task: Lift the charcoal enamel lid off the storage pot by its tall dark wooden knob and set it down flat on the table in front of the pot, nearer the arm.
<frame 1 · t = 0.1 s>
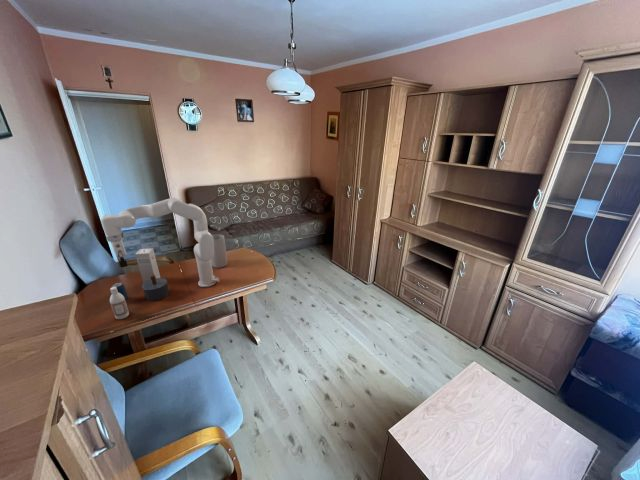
hand: (123, 263, 156), 31 cm above the table, tool pointing down, fingers open, 9 cm apart
bath foam: (122, 316, 160), on the table
tin: (157, 294, 180), on the table
soda can: (121, 300, 174), on the table
tin lid: (154, 284, 177), point 8 cm above the table, touching tin
cylinder vase: (220, 264, 221), on the table
box: (152, 281, 195), on the table
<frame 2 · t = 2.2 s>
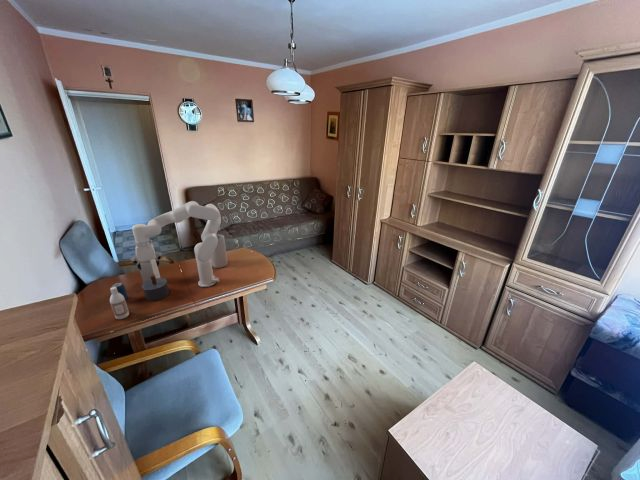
hand: (149, 267, 171), 22 cm above the table, tool pointing down, fingers open, 9 cm apart
nothing on the table moved.
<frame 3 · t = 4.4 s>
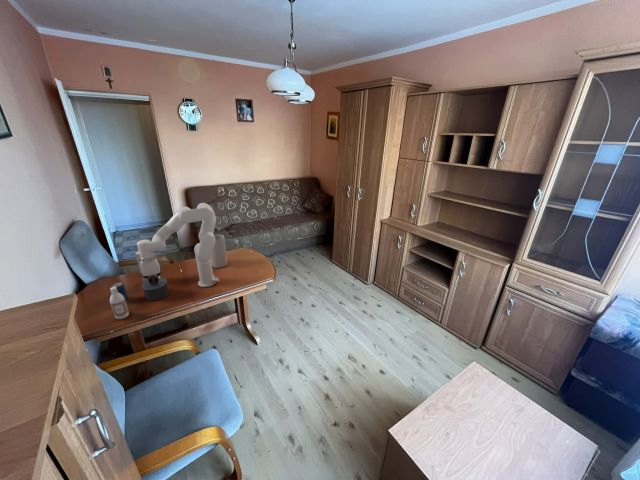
hand: (154, 282, 176), 10 cm above the table, tool pointing down, fingers closed on tin lid, 2 cm apart
tin lid: (154, 284, 177), point 9 cm above the table, touching gripper, tin
everything else where it was.
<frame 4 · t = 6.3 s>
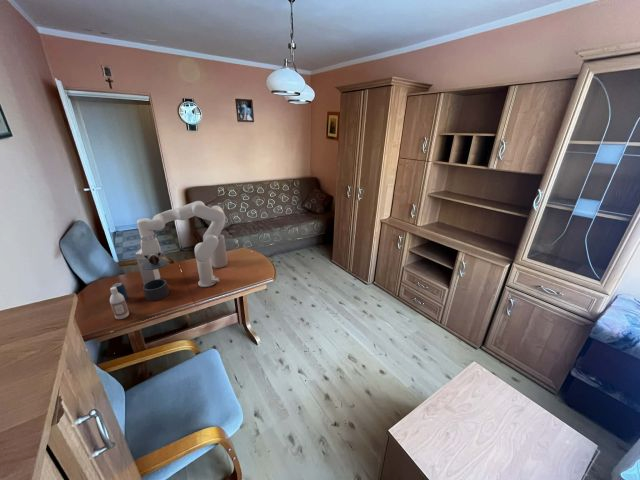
hand: (154, 262, 175), 23 cm above the table, tool pointing down, fingers closed on tin lid, 2 cm apart
tin lid: (155, 264, 175), point 22 cm above the table, touching gripper
everything else where it was.
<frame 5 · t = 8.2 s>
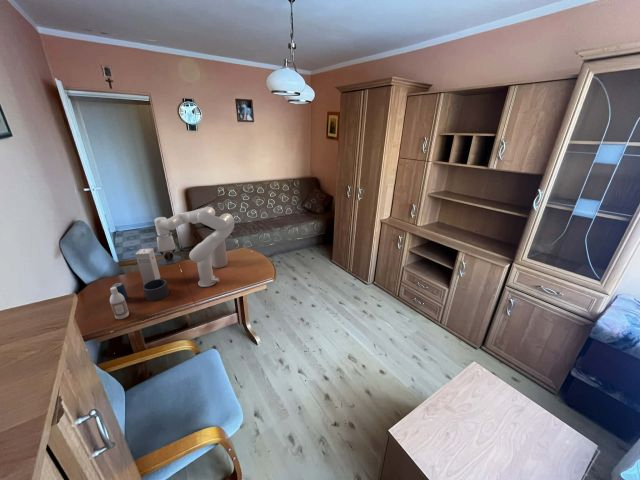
hand: (169, 258, 187), 20 cm above the table, tool pointing down, fingers closed on tin lid, 2 cm apart
tin lid: (169, 260, 188), point 18 cm above the table, touching gripper
everything else where it was.
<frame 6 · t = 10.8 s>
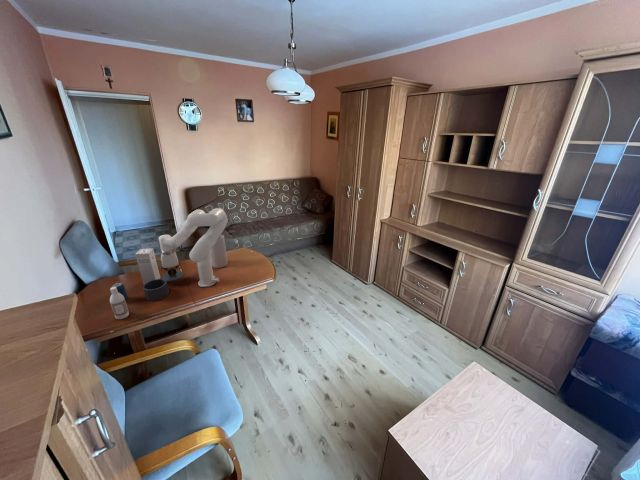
hand: (172, 274, 192), 7 cm above the table, tool pointing down, fingers closed on tin lid, 2 cm apart
tin lid: (173, 275, 193), point 6 cm above the table, touching gripper
everything else where it was.
when the fingers open (2 cm above the table, at t = 12.2 s): tin lid stays where it is, point 1 cm above the table.
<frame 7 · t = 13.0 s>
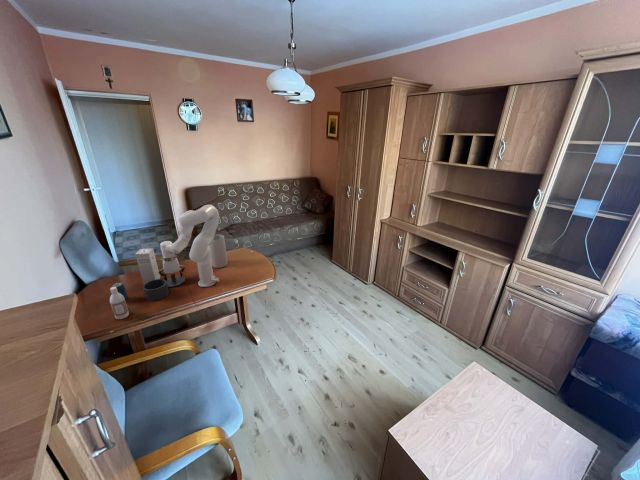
hand: (174, 278, 194), 3 cm above the table, tool pointing down, fingers open, 9 cm apart
tin lid: (174, 281, 195), point 1 cm above the table
everything else where it was.
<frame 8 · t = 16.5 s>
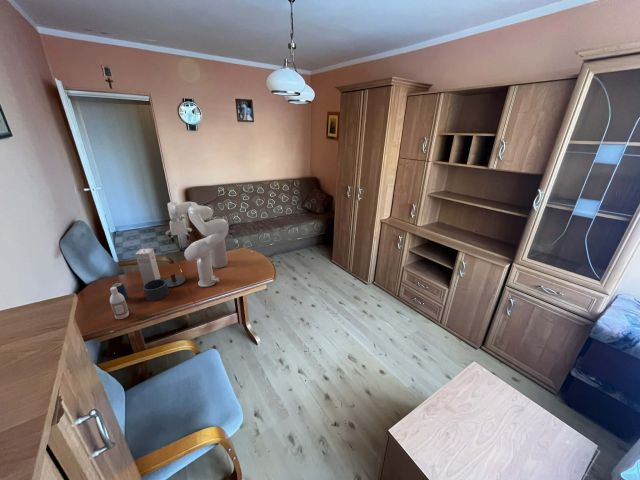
hand: (180, 241, 195), 28 cm above the table, tool pointing down, fingers open, 9 cm apart
nothing on the table moved.
at the end: tin lid point 0.6 cm above the table; tin lid inside the target area (0.2 cm from its centre), point 0.6 cm above the table; tin lid tilted 0° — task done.
